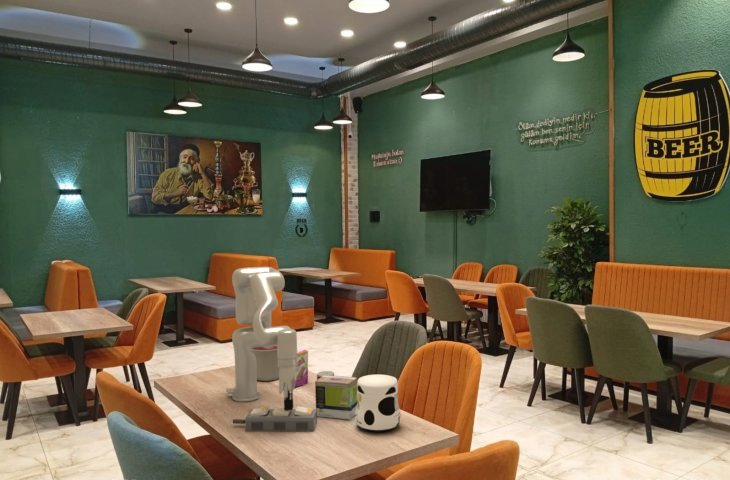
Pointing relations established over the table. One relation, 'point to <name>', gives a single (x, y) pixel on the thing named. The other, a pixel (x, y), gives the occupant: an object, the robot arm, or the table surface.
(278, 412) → the rocker
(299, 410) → the rocker
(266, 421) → the power strip
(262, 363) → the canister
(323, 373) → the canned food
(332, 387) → the tea box
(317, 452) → the table surface
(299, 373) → the candy bar box
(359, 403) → the milk container
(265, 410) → the rocker
